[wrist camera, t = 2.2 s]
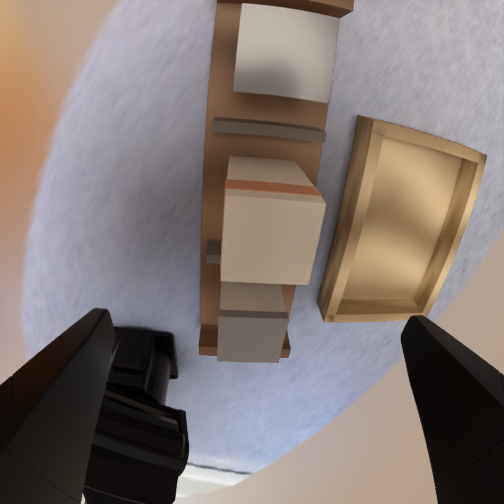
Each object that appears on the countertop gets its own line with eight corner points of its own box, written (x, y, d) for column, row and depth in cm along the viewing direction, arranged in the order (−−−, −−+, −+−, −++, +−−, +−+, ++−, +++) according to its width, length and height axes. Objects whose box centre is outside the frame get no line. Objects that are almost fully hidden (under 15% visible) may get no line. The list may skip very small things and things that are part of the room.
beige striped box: (287, 221, 20) (309, 286, 14) (224, 217, 20) (219, 281, 14) (296, 160, 18) (327, 202, 12) (228, 154, 18) (224, 194, 12)
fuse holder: (283, 327, 26) (288, 357, 23) (202, 324, 26) (198, 354, 23) (334, 8, 14) (354, -5, 11) (220, -7, 13) (216, -26, 10)
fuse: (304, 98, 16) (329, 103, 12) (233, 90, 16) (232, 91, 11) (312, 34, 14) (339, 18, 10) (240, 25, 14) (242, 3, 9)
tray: (414, 301, 26) (425, 319, 24) (317, 301, 25) (323, 322, 23) (467, 146, 18) (487, 155, 16) (358, 115, 17) (373, 120, 15)
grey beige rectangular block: (271, 313, 24) (278, 362, 20) (219, 311, 24) (217, 360, 19) (279, 271, 22) (289, 318, 18) (221, 267, 22) (218, 316, 17)
